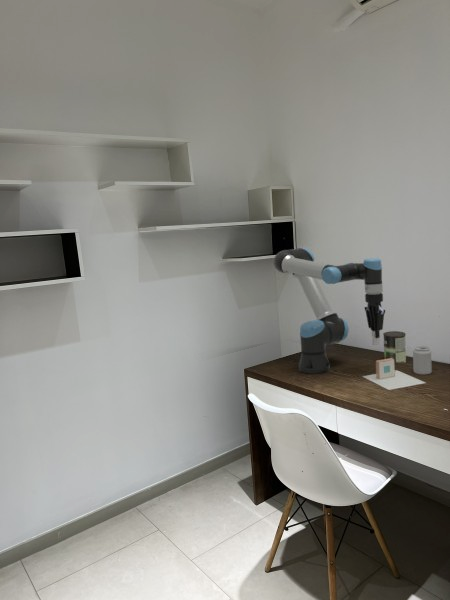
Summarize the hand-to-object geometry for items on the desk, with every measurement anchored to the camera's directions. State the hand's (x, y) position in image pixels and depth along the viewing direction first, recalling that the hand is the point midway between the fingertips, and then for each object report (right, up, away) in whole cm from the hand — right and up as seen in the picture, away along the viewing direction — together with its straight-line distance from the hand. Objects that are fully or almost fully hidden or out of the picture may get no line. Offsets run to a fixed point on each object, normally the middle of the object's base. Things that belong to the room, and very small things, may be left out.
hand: (376, 344), depth 209 cm
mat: (+5, -15, -8) cm, 18 cm away
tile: (+3, -14, -4) cm, 15 cm away
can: (+20, -13, -2) cm, 24 cm away
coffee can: (+16, -10, +20) cm, 27 cm away
